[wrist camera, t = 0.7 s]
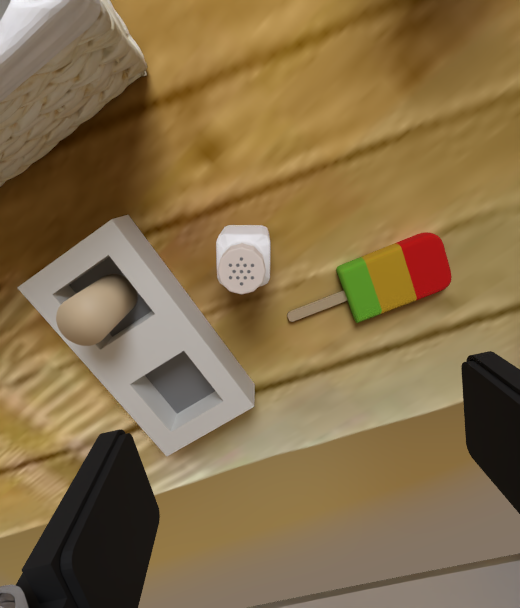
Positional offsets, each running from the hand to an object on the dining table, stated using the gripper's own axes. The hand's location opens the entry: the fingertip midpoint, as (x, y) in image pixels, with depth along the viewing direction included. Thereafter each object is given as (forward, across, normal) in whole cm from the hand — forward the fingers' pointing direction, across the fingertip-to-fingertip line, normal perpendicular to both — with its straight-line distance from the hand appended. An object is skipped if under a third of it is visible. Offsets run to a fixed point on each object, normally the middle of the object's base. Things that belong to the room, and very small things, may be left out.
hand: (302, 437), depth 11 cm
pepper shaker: (+26, +1, -2) cm, 26 cm away
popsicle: (+26, -9, +4) cm, 27 cm away
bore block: (+26, +12, +4) cm, 29 cm away
